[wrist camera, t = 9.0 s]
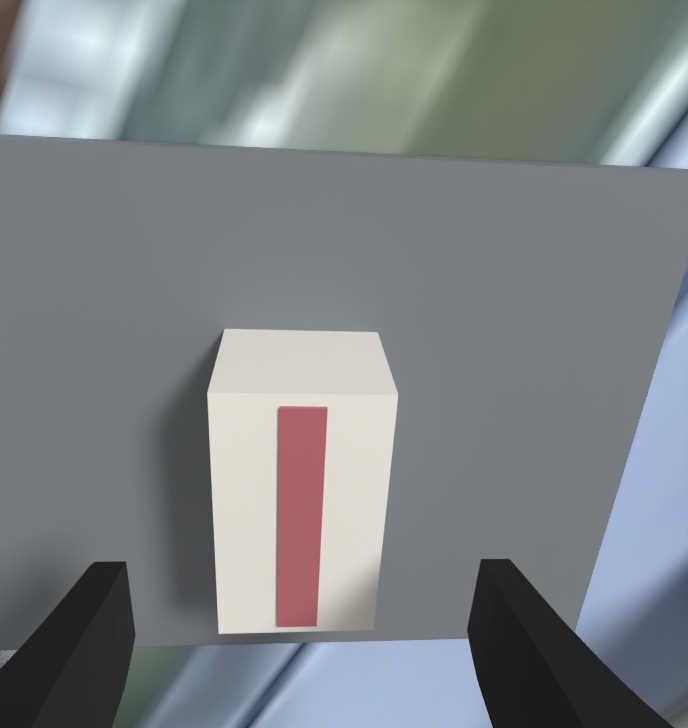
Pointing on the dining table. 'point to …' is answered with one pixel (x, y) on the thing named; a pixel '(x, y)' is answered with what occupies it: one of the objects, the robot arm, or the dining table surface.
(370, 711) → the dining table surface
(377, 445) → the white rectangular block
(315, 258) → the slate mat
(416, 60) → the dining table surface
